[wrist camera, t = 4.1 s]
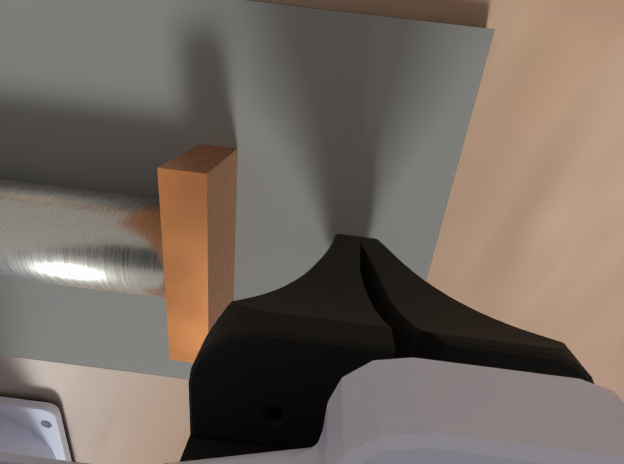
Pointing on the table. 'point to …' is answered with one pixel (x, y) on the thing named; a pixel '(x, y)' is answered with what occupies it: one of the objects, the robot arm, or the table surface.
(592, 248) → the table surface
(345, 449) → the robot arm
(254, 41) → the mat
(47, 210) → the pin
